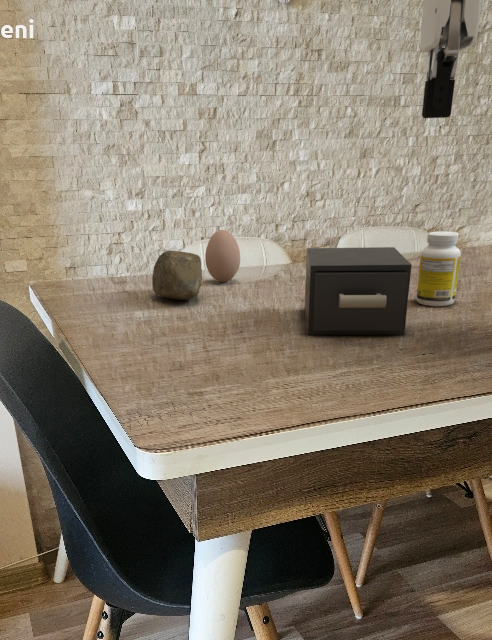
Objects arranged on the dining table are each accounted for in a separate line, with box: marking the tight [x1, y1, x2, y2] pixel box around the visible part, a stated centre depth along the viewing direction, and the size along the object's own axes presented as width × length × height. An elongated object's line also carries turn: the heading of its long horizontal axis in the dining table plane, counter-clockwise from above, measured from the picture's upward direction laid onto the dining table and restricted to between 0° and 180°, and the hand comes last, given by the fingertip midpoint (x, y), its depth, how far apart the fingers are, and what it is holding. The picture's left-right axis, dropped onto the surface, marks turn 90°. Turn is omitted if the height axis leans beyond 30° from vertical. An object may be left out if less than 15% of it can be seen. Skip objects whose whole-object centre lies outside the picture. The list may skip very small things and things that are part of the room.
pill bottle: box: [416, 230, 462, 307], centre depth 109 cm, size 6×6×11 cm
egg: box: [204, 229, 241, 283], centre depth 129 cm, size 7×7×10 cm
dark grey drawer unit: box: [304, 246, 413, 336], centre depth 99 cm, size 16×14×10 cm
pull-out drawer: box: [313, 271, 408, 331], centre depth 96 cm, size 19×12×8 cm, turn 175°
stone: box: [151, 250, 203, 301], centre depth 117 cm, size 17×9×8 cm, turn 20°
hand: (435, 117), depth 82 cm, fingers closed
